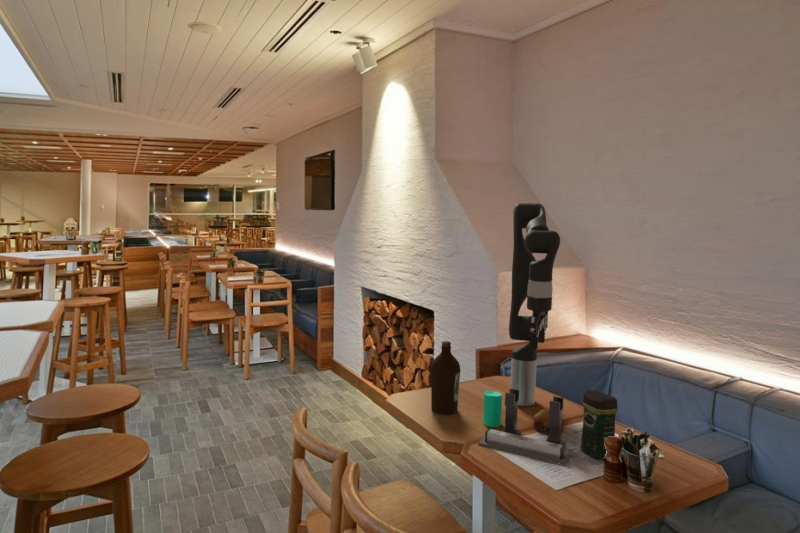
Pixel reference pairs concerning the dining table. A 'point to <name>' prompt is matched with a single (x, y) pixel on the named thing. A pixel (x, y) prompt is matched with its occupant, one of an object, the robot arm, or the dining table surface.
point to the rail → (525, 443)
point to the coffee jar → (597, 422)
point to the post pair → (554, 412)
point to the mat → (525, 452)
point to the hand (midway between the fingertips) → (537, 345)
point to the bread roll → (543, 421)
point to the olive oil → (445, 381)
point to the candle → (492, 408)
